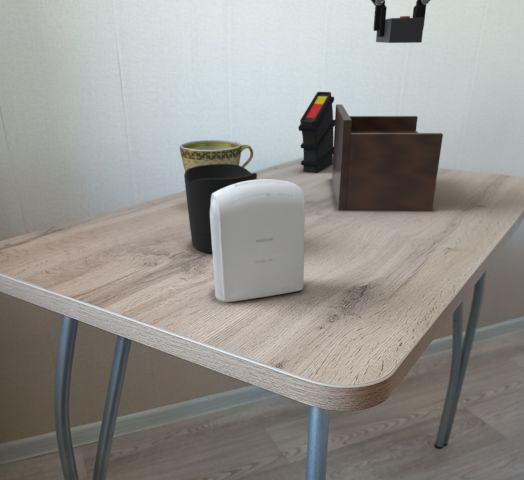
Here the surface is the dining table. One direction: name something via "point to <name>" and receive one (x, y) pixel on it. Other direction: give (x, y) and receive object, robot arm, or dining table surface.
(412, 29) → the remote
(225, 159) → the ceramic cup
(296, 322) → the dining table surface
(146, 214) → the dining table surface
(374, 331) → the dining table surface
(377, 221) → the dining table surface
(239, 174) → the pen holder
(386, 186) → the wooden storage bin
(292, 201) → the photo printer
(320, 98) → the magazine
